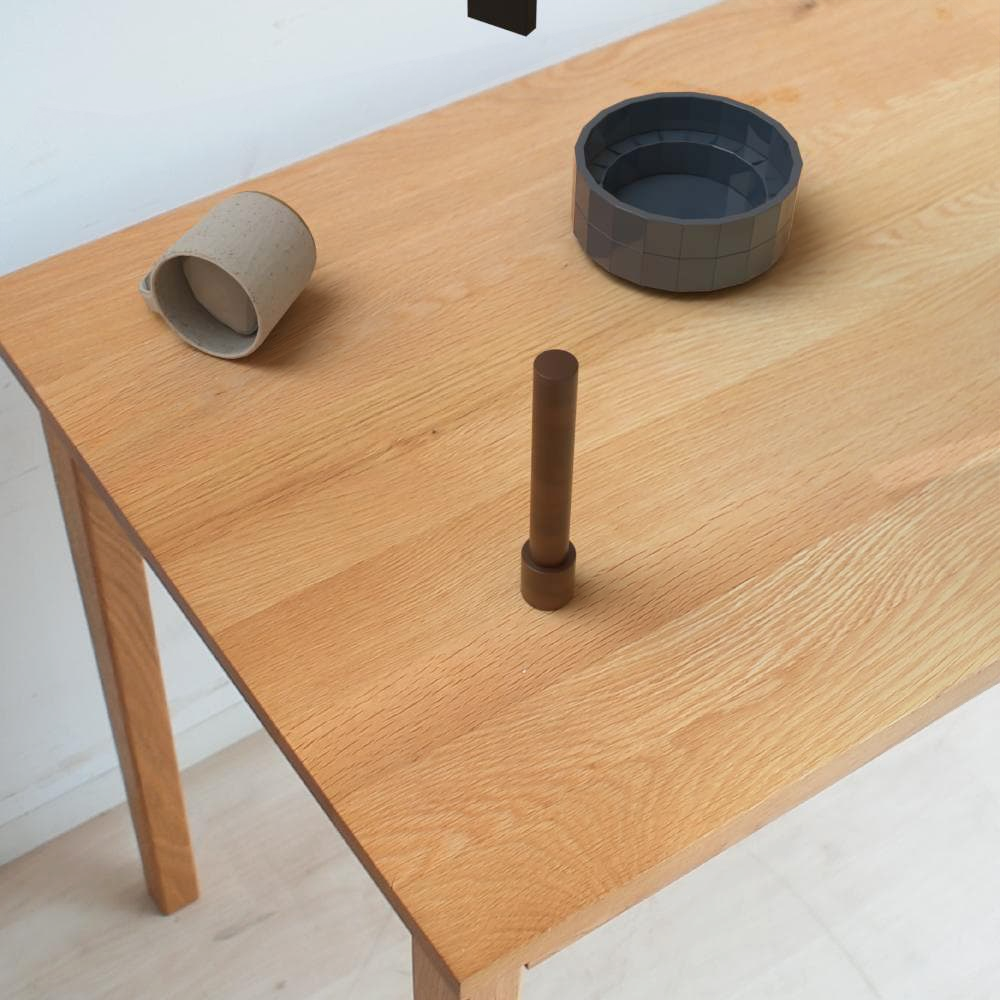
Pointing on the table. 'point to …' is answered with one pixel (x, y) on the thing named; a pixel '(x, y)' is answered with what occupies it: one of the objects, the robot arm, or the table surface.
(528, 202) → the table surface
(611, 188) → the bowl
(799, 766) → the table surface
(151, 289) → the ceramic mug
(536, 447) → the brown pestle
